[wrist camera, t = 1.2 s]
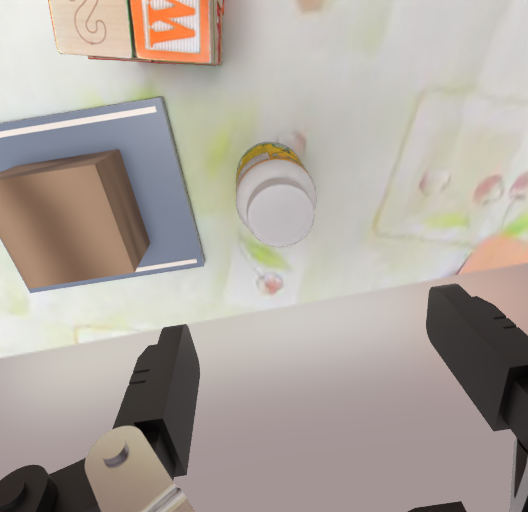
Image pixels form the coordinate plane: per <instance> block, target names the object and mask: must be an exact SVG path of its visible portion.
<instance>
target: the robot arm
mask: <svg viewBox="0 0 528 512" xmlns="http://www.w3.org/2000/svg"><path fill="white" fill-rule="evenodd" d="M426 329H427V334H428V337H429V339H430V342H431V343H432V345H433V346H434V348H435V349H436V350H437V352H438V353H439V355H440V356H441V358H442V359H443V360H444V362H445V363H446V365H447V366H448V367H449V369H450V370H451V372H452V373H453V375H454V376H455V377H456V379H457V380H458V382H459V383H460V384H461V386H462V387H463V389H464V390H465V392H466V393H467V394H468V396H469V397H470V399H471V400H472V401H473V403H474V404H475V406H476V407H477V409H478V410H479V411H480V413H481V414H482V416H483V417H484V418H485V420H486V421H487V422H488V424H489V425H490V427H491V428H492V430H493V431H498V430H505V429H511V430H512V432H513V433H514V434H515V436H516V439H515V442H514V454H513V468H512V483H511V498H510V509H509V512H528V336H527V335H526V334H525V333H524V332H523V331H522V330H521V329H520V328H517V327H516V325H515V324H514V323H513V322H512V321H511V320H510V319H509V318H506V316H505V315H504V314H503V313H502V312H501V311H500V310H499V309H498V308H497V307H496V306H494V305H493V304H491V303H489V302H487V301H485V300H483V299H481V298H479V297H477V296H475V297H471V296H470V295H469V294H468V293H467V292H466V291H465V290H464V289H463V288H462V287H461V286H459V285H458V284H449V285H442V286H436V287H431V289H430V291H429V298H428V309H427V320H426ZM199 379H200V367H199V361H198V357H197V353H196V350H195V347H194V344H193V340H192V338H191V334H190V331H189V328H188V326H187V325H186V324H184V325H177V326H171V327H164V328H163V329H162V331H161V334H160V337H159V341H158V344H156V345H150V346H148V347H147V348H146V349H145V351H144V352H143V353H142V354H141V355H140V356H139V358H138V360H137V362H136V365H135V368H134V371H133V374H132V376H131V379H130V382H129V386H128V388H127V390H126V393H125V396H124V398H123V401H122V404H121V407H120V410H119V413H118V416H117V418H116V421H115V424H114V426H113V429H112V430H111V431H109V432H107V433H106V434H104V435H103V436H102V437H100V438H99V439H98V440H97V441H96V442H95V444H94V445H93V446H92V447H91V449H90V450H89V452H88V454H87V457H86V458H84V459H82V460H80V461H78V462H76V463H74V464H72V465H70V466H67V467H65V468H63V469H60V470H58V471H56V472H54V473H52V474H48V473H47V472H46V470H45V469H44V468H43V467H41V466H39V465H28V466H25V467H22V468H19V469H17V470H15V471H13V472H11V473H10V474H8V475H7V476H5V477H4V478H3V479H2V480H0V512H195V511H194V509H193V507H192V506H191V504H190V503H189V501H188V500H187V498H186V497H185V495H184V494H183V492H182V491H181V489H180V488H177V487H176V485H175V484H174V482H173V479H174V477H177V476H184V475H187V468H188V461H189V453H190V446H191V438H192V431H193V423H194V416H195V409H196V401H197V394H198V386H199ZM408 512H466V510H465V508H464V506H463V504H462V502H461V501H460V502H453V503H447V504H439V505H432V506H426V507H419V508H414V509H412V510H410V511H408Z"/></svg>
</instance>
